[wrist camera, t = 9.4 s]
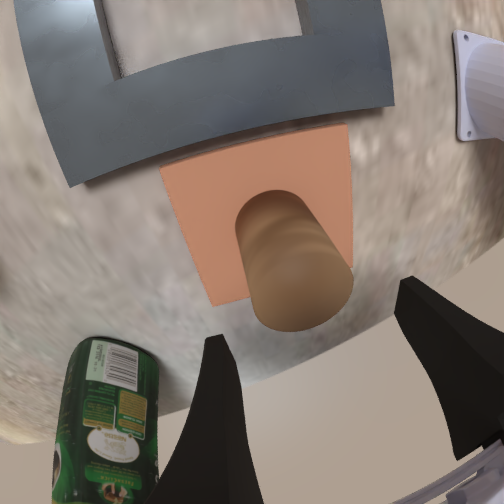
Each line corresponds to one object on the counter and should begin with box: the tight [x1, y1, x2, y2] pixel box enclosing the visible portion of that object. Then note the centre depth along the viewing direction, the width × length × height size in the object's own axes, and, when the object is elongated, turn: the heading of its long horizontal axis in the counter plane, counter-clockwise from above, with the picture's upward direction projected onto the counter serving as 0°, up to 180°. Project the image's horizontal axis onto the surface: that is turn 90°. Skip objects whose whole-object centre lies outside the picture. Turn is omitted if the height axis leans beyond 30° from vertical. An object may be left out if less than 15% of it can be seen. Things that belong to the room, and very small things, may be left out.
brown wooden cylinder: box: [235, 190, 353, 332], centre depth 15 cm, size 4×4×6 cm
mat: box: [159, 123, 353, 307], centre depth 17 cm, size 10×10×1 cm
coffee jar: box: [52, 338, 159, 504], centre depth 16 cm, size 10×8×19 cm
